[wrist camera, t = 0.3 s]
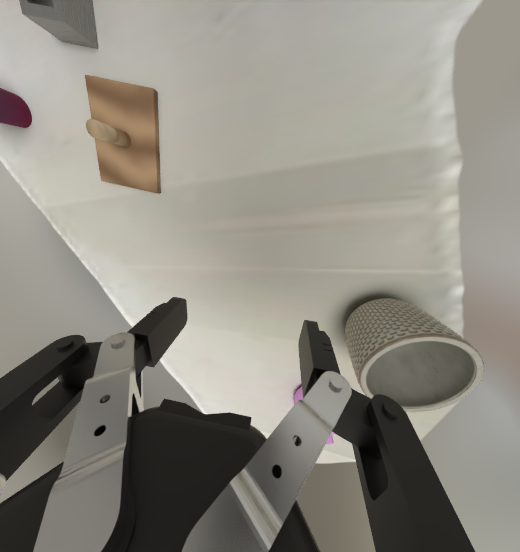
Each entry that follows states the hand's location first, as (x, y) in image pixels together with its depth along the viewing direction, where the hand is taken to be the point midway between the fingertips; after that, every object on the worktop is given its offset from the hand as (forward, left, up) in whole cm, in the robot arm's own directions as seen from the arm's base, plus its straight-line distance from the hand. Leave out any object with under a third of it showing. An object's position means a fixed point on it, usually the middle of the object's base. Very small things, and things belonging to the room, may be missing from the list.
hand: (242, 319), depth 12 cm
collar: (-26, -37, -29) cm, 54 cm away
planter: (+14, +28, -29) cm, 42 cm away
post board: (-11, -30, -29) cm, 43 cm away
